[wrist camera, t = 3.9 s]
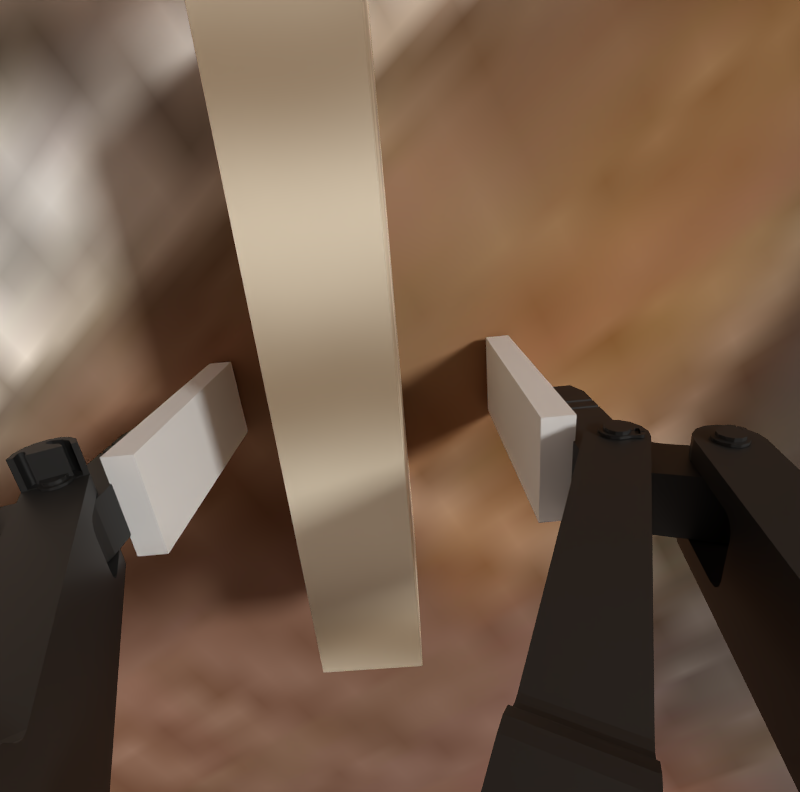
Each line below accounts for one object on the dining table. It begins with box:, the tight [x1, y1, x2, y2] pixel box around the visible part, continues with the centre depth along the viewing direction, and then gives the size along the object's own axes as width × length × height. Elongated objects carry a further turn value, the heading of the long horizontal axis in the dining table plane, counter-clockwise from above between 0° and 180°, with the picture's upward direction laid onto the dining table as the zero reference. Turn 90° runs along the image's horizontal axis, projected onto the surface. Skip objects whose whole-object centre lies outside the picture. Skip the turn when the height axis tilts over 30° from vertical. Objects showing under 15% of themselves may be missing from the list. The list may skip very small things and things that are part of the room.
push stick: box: [185, 0, 422, 672], centre depth 14 cm, size 18×3×6 cm, turn 5°
